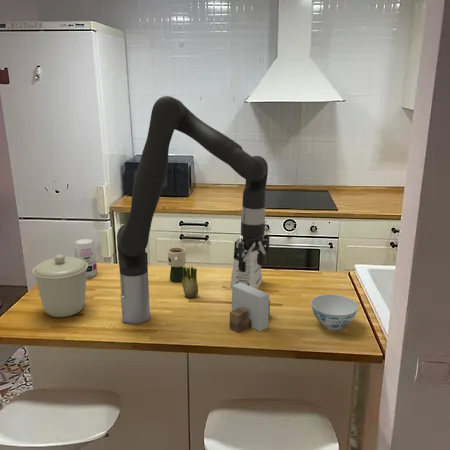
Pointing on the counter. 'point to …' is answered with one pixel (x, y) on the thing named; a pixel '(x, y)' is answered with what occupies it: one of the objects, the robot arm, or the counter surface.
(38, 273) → the canister
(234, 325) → the walnut stand
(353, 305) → the chinaware
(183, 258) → the character mug
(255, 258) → the grater
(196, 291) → the fennel bulb
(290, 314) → the counter surface
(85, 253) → the supplement can
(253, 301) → the plain gray rectangular block
